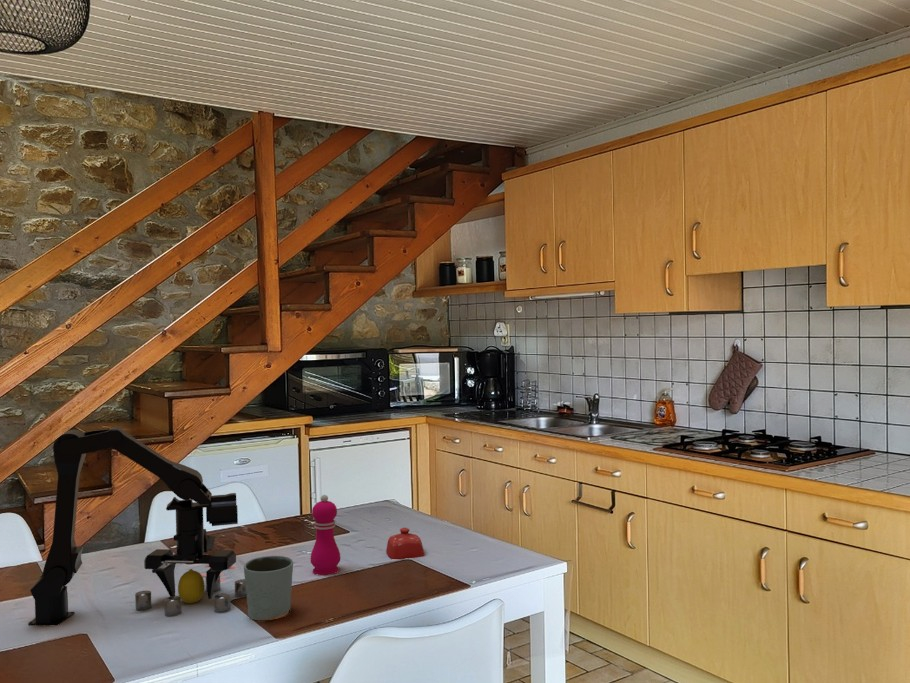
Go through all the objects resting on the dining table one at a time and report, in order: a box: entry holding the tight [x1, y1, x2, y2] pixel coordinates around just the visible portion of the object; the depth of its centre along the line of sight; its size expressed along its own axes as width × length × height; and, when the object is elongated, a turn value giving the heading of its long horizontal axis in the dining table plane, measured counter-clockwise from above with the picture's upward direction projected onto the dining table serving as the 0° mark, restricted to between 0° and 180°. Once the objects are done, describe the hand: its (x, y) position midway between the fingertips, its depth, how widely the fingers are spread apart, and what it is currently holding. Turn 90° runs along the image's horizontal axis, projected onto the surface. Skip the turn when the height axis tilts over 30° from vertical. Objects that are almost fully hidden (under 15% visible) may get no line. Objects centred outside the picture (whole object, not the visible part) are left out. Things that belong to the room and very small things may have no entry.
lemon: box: [177, 568, 206, 604], centre depth 168 cm, size 6×6×8 cm
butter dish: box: [385, 527, 425, 560], centre depth 198 cm, size 12×12×8 cm
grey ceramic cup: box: [243, 555, 294, 620], centre depth 159 cm, size 10×10×12 cm
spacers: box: [134, 575, 247, 617], centre depth 168 cm, size 17×22×4 cm
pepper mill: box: [310, 494, 341, 576], centre depth 185 cm, size 7×7×20 cm
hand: (191, 597), depth 168 cm, fingers open, 8 cm apart
